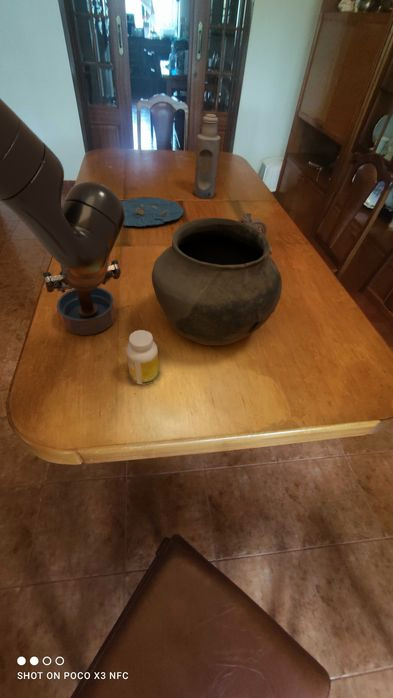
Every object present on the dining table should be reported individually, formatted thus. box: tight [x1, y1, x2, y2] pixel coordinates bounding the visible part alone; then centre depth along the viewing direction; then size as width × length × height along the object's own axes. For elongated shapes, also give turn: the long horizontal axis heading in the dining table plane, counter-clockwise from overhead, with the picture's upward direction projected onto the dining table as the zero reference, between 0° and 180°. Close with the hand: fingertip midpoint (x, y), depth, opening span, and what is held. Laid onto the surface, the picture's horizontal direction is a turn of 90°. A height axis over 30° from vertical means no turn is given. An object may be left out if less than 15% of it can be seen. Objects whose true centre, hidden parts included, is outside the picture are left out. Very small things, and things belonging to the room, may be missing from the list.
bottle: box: [193, 113, 221, 199], centre depth 135 cm, size 10×10×30 cm
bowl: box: [56, 286, 117, 336], centre depth 81 cm, size 14×14×6 cm
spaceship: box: [241, 212, 273, 255], centre depth 114 cm, size 8×35×8 cm
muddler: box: [76, 289, 99, 319], centre depth 78 cm, size 5×5×11 cm
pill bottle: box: [125, 329, 160, 385], centre depth 67 cm, size 6×6×12 cm
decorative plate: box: [120, 196, 184, 228], centre depth 126 cm, size 30×30×5 cm
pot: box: [151, 217, 283, 346], centre depth 75 cm, size 29×32×25 cm
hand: (82, 283), depth 69 cm, fingers open, 8 cm apart
